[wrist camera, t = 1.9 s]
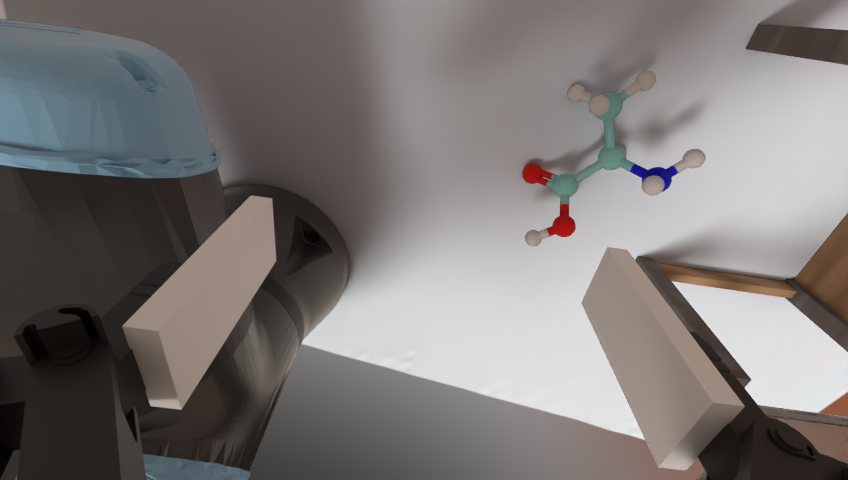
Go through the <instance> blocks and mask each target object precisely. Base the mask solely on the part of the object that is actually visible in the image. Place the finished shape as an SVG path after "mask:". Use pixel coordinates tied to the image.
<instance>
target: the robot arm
mask: <svg viewBox="0 0 848 480" xmlns="http://www.w3.org/2000/svg"><path fill="white" fill-rule="evenodd" d="M220 162H221V158H220V154H219V151H218V149H217V148H216V147H215V146H214V145H213V143H211V140H210V136H209V133H208V130H207V127H206V124H205V121H204V118H203V114H202V111H201V108H200V105H199V102H198V99H197V96H196V92H195V89H194V86H193V84H192V82H191V80H190V78H189V76H188V75H187V73H186V72H185V70H184V69H183V68H182V67H181V66H180V65H179V64H178V63H177V62H176V61H175V60H174V59H173V58H171V57H170V56H169V55H168V54H166V53H164V52H163V51H161V50H160V49H158V48H156V47H154V46H152V45H149V44H147V43H144V42H142V41H138V40H135V39H131V38H127V37H122V36H117V35H112V34H107V33H101V32H95V31H89V30H82V29H76V28H69V27H62V26H55V25H48V24H40V23H32V22H24V21H17V20H8V19H0V480H248V478H249V476H250V472H249V470H250V467H251V465H252V463H253V460H254V458H255V455H256V453H257V450H258V448H259V446H260V443H261V441H262V438H263V436H264V433H265V431H266V428H267V426H268V424H269V421H270V419H271V416H272V414H273V411H274V409H275V406H276V404H277V401H278V399H279V396H280V394H281V392H282V389H283V387H284V384H285V381H286V379H287V377H288V374H289V372H290V369H291V367H292V365H293V362H294V360H295V357H296V355H297V352H298V350H299V347H300V345H301V343H302V340H303V339H304V338H305V337H306V336H307V335H308V334H309V333H310V332H311V331H312V330H313V329H314V328H315V327H316V326H317V325H318V324H319V323H320V322H321V321H322V320H323V319H324V318H325V317H326V316H327V315H328V314H329V313H330V312H331V311H332V310H333V308H334V307H335V306H336V304H337V303H338V301H339V299H340V297H341V295H342V293H343V290H344V287H345V284H346V281H347V278H348V273H349V257H348V252H347V248H346V245H345V243H344V241H343V238H342V236H341V235H340V233H339V231H338V230H337V228H336V227H335V225H334V224H333V223H332V222H331V221H330V219H329V218H328V217H327V216H326V215H325V214H324V213H323V212H322V211H320V210H319V209H318V208H317V207H316V206H314V205H313V204H311V203H310V202H308V201H307V200H305V199H303V198H302V197H300V196H298V195H296V194H293V193H291V192H289V191H286V190H283V189H280V188H276V187H272V186H267V185H258V184H246V185H237V186H233V187H229V188H226V189H223V187H222V183H221V180H220V176H219V172H218V166H219V164H220ZM582 305H583V307H584V309H585V312H586V314H587V316H588V318H589V320H590V322H591V324H592V326H593V329H594V331H595V333H596V335H597V337H598V339H599V341H600V344H601V346H602V348H603V350H604V352H605V354H606V356H607V359H608V361H609V363H610V365H611V367H612V369H613V371H614V374H615V376H616V378H617V380H618V382H619V384H620V386H621V389H622V391H623V393H624V395H625V397H626V399H627V401H628V404H629V406H630V408H631V410H632V412H633V414H634V416H635V419H636V421H637V423H638V425H639V427H640V429H641V431H642V433H643V436H644V438H645V440H646V442H647V444H648V446H649V448H650V451H651V453H652V455H653V457H654V459H655V461H656V463H657V466H658V467H661V468H669V469H677V470H687V469H688V468H689V467H690V466H691V464H692V463H693V462H694V461H695V460H696V459H697V458H699V460H700V461H701V463H702V465H703V467H704V469H705V472H704V473H703V474H702V475H701V476H700V477H699V478H698V479H697V480H848V464H847V463H845V462H842V461H839V460H837V459H834V458H832V457H829V456H826V455H824V454H821V453H819V452H818V451H817V449H816V448H815V447H814V446H813V444H812V443H811V442H810V441H809V440H808V439H807V438H806V437H805V436H803V435H802V434H801V433H800V432H799V431H797V430H796V429H794V428H793V427H791V426H790V425H788V424H786V423H784V422H782V421H780V420H777V419H775V418H771V417H767V416H766V415H765V414H764V413H763V411H762V410H761V409H760V408H759V406H758V405H757V404H756V402H755V401H754V400H753V399H752V397H751V396H750V395H749V394H748V392H747V391H746V390H745V388H744V387H743V386H742V385H741V383H740V382H739V381H738V380H737V378H736V377H735V376H734V374H731V371H730V369H729V368H728V367H727V366H726V364H725V363H724V362H722V361H721V360H722V359H721V358H720V357H719V355H718V354H717V353H716V352H715V350H714V349H713V348H712V346H711V345H710V344H708V343H707V342H706V341H705V340H704V339H702V338H701V337H700V336H699V335H698V334H696V333H695V332H691V331H688V330H687V329H686V327H685V326H684V325H683V323H682V322H681V321H680V319H679V318H678V317H677V315H676V314H675V313H674V311H673V310H672V309H671V308H670V306H669V305H668V304H667V302H666V301H665V300H664V298H663V297H662V296H661V294H660V293H659V292H658V290H657V289H656V288H655V286H654V285H653V284H652V282H651V281H650V280H649V278H648V277H647V276H646V274H645V273H644V272H643V270H642V269H641V268H640V266H639V265H638V264H637V262H636V261H635V260H634V258H633V257H632V256H631V254H630V253H629V252H628V250H624V249H617V248H610V247H607V249H606V251H605V254H604V256H603V258H602V260H601V262H600V264H599V266H598V269H597V271H596V273H595V275H594V277H593V279H592V281H591V284H590V286H589V288H588V290H587V292H586V294H585V296H584V299H583V301H582Z"/></svg>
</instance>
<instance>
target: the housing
mask: <svg viewBox="0 0 848 480" xmlns="http://www.w3.org/2000/svg"><path fill="white" fill-rule="evenodd" d="M746 49H750V50H756V51H762V52H768V53H774V54H781V55H787V56H794V57H800V58H806V59H813V60H819V61H826V62H832V63H839V64H845V65H848V30H834V29H820V28H806V27H791V26H777V25H763V24H758V26H757V28H756V30H755V32H754V34H753V36H752V38H751V40H750V41H749V43H748V45H747V47H746ZM635 261H636V262H637V264H638V265H639V266H640V268H641V269H642V270H643V272H644V273H645V274H646V276H647V277H648V278H649V280H650V281H651V282H652V284H653V285H654V286H655V288H656V289H657V290H658V292H659V293H660V294H661V296H662V297H663V298H664V300H665V301H666V302H667V304H668V305H669V306H670V308H671V309H672V310H673V311H674V313H675V314H676V315H677V317H678V318H679V319H680V321H681V322H682V323H683V325H684V326H685V327H686V329H687V330H688V331H691V332H695V333H696V334H698V335H699V336H700V337H701V338H702V339H704V340H705V341H706V342H707V343H708V344H710V345H711V346H712V348H713V349H714V350H715V352H716V353H717V354H718V355H719V357H720V358H721V359H722V360H721V361H722V362H724V363H725V364H726V366H727V367H728V368H729V369H730V371H731V374H734V376H735V377H736V378H737V380H738V381H739V382H740V383H741V385H742V386H743V387H745V386H746V385H747V384H748V383H749V382H750V381H751V379H750V378H749V376H748V375H747V374H746V373H745V371H744V370H743V369H742V368H741V366H740V365H739V364H738V363H737V362H736V360H735V359H734V358H733V357H732V355H731V354H730V353H729V352H728V350H727V349H726V348H725V347H724V346H723V344H722V343H721V342H720V341H719V339H718V338H717V337H716V336H715V335H714V333H713V332H712V331H711V330H710V328H709V327H708V326H707V325H706V323H705V322H704V321H703V320H702V319H701V317H700V316H699V315H698V314H697V312H696V311H695V310H694V309H693V308H692V306H691V305H690V304H689V303H688V301H687V300H686V299H685V298H684V296H683V295H682V294H681V293H680V292H679V290H678V289H677V288H676V287H675V285H674V284H673V283H672V282H671V281H674V282H681V283H688V284H695V285H702V286H709V287H716V288H723V289H730V290H737V291H744V292H751V293H758V294H765V295H772V296H778V297H785V298H786V299H787V300H788V301H790V302H791V303H792V304H793V305H794V306H795V307H796V308H798V309H799V310H800V311H801V312H802V313H803V314H805V315H806V316H807V317H808V318H809V319H810V320H811V321H813V322H814V323H815V324H816V325H817V326H818V327H820V328H821V329H822V330H823V331H824V332H825V333H826V334H828V335H829V336H830V337H831V338H832V339H833V340H835V341H836V342H837V343H838V344H839V345H840V346H841V347H843V348H844V349H845V350H846V351H847V352H848V214H847V215H846V216H845V218H844V219H843V220H842V221H841V223H840V224H839V225H838V226H837V228H836V229H835V230H834V231H833V233H832V234H831V235H830V236H829V237H828V239H827V240H826V241H825V242H824V244H823V245H822V246H821V247H820V249H819V250H818V251H817V252H816V254H815V255H814V256H813V257H812V259H811V260H810V261H809V262H808V263H807V265H806V266H805V267H804V268H803V270H802V271H801V272H800V273H799V275H798V276H797V277H796V278H795V280H793V279H787V280H786V281H785V282H784V281H777V280H771V279H764V278H757V277H750V276H743V275H736V274H729V273H722V272H716V271H709V270H702V269H695V268H688V267H681V266H674V265H668V264H661V263H656V262H655V261H654V260H653V259H649V258H642V257H637V258H636V260H635Z"/></svg>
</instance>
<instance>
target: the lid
mask: <svg viewBox="0 0 848 480" xmlns="http://www.w3.org/2000/svg"><path fill="white" fill-rule="evenodd" d="M758 406H759V408H760V409H761V410H762V411H763V413H764V414H765V415H766V416H767V417H771V418H775V419H777V420H780V421H782V422H784V423H786V424H788V425H790V426H791V427H793V428H794V429H796V430H797V431H799V432H800V433H801V434H802V435H803V436H805V437H806V438H807V439H808V440H809V441H810V442H811V443H812V444H813V446H814V447H815V448H816V449H817V451H818V452H819V453H821V454H824V455H826V456H829V457H832V458H834V459H837V460H839V461H842V462H845V463H847V464H848V417H843V416H835V415H828V414H820V413H813V412H805V411H798V410H790V409H783V408H775V407H768V406H760V405H758Z"/></svg>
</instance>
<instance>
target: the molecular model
mask: <svg viewBox="0 0 848 480" xmlns="http://www.w3.org/2000/svg"><path fill="white" fill-rule="evenodd" d="M655 82H656V76H655V74H654V73H653V72H651V71H644V72H641V73H640V74H639V75H638V76H637V77H636V79H635V83H633V84H632V85H630V86H629V87H627V88H626V89H624V90H623V91H621V92H620V93H618V94H616V93H614V92H605V93H602V94H601V95H598V96H594V95H592V94H589V93H587V92H586V91H585V88H584V87H583V86H582V85H579V84H576V85H574V86H572V87H571V88H570V89H569V91H568V98H569V99H570V100H571V101H572V102H579V101H584V102H586V103H589V110H590V112H591V113H592V114H594V115H595V116H596V117H597V118H599V119H602V120H604V130H605V140H606V146H605V147H604V148H602V149H601V151H600V152H599V154H598V161H597V162H595V163H593V164H592V165H590V166H589V167H587V168H586V169H584V170H582V171H581V172H579V173H578V174H576V175H574V176H573V175H570V174H561V175H559V176H558V175H556V174H553V173H550V172H547V171H544V170H542V168H541V167H540V166H539V165H537V164H530V165H528V166H526V167H525V168H524V170H523V178H524V180H525V181H526V182H527V183H530V184H534V183H540V184H542V185H545V186H547V187H550V188H553V191H554V193H555V194H556V195H557V196H559V197H561V199H560V216H559V217H557V218H556V219H555V220H554V222H553V226H552V227H549V228H547V229H544V230H542V231H539V232H538V231H536V230H531V231H529V232H527V234H526V236H525V241H526V243H527V244H528V245H530V246H537V245H539V244H540V242H541V240H542V239H544V238H546V237H549V236H552V235H554V234H556V235H558V236H561V237H567V236H570V235H571V234H572V233H573V232H574V231H575V222H574V220H573V219H572V218H571V217H569V197H571V196H573V195H574V194H575V193H576V191H577V189H578V182H580V181H582V180H583V179H585V178H587V177H588V176H590V175H592V174H593V173H595V172H596V171H598V170H600V169H601V168H604V169H607V170H614V169H617V168H619V167H622V168H624V169H626V170H628V171H629V172H631V173H633V174H635V175H637V176H639V177H641V178H642V189H643V191H644V192H645V193H646V194H648V195H657V194H659V193H660V192H663V191H665V190H666V189H667V188H668V187H669V186H670V184H671V181H672V180H671V177H672V176H674V175H676V174H678V173H679V172H681V171H683V170H685V169H686V168H688V167H689V168H697V167H699V166H701V165H702V164H703V163H704V161H705V154H704V153H703V152H702V151H701V150H699V149H692V150H689V151H687V152H686V153H685V154H684V156H683V160H681V161H680V162H678V163H676V164H675V165H673V166H671V167H669V168H667V169H664V168H661V167H656V168H652V169H649V170H646V169H644V168H642V167H640V166H638V165H636V164H634V163H632V162H630V161H628V160H626V159H625V158H626V150H625V149H624V148H623V147H621V146H619V145H615V133H614V120H613V118H614V117H616V116H617V115H618V114H619V113H620V111H621V109H622V101H624V100H625V99H627V98H628V97H630V96H632V95H633V94H635V93H636V92H638V91H639V90H641V91H646V90H649V89H650V88H652V87H653V86H654V84H655ZM542 177H545V178H548V179H550V180H553V181H554V182H552V181H550V180H547V179H544V178H542Z"/></svg>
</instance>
